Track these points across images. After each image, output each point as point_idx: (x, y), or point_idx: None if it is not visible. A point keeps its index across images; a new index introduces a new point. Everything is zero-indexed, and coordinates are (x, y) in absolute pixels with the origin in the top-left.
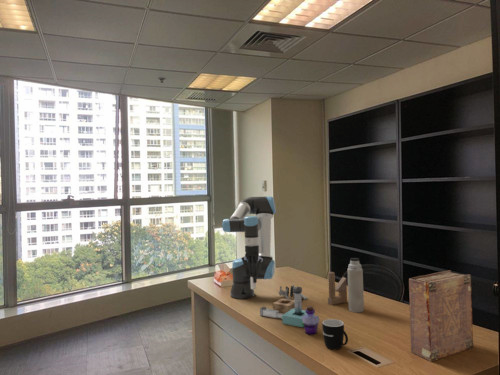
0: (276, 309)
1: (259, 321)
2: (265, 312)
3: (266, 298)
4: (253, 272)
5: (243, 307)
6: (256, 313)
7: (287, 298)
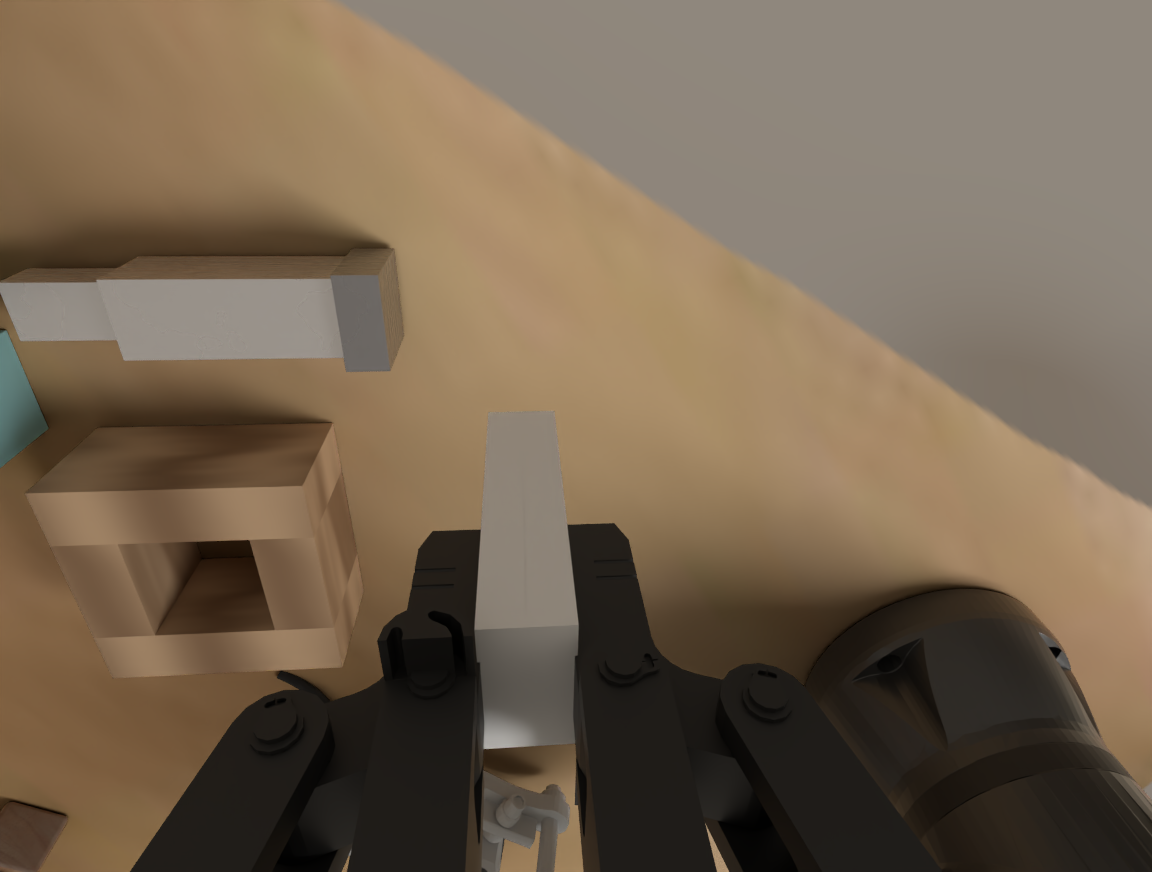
0: (271, 445)
1: (250, 32)
2: (297, 271)
3: None
4: (414, 819)
5: (754, 407)
6: (492, 303)
7: None
